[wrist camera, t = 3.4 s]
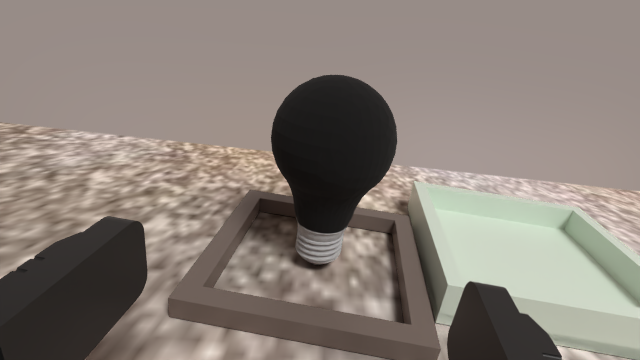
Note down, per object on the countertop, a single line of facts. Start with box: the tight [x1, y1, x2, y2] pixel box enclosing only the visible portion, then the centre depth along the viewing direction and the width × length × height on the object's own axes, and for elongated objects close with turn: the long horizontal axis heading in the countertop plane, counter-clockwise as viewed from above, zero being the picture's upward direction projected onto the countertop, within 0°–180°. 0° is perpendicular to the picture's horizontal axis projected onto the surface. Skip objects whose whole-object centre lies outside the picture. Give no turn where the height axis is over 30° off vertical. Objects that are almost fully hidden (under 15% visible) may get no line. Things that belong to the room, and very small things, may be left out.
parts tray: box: [408, 181, 640, 360], centre depth 21 cm, size 12×12×2 cm
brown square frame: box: [168, 190, 441, 360], centre depth 19 cm, size 11×11×1 cm
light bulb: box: [271, 75, 397, 265], centre depth 17 cm, size 6×6×10 cm
